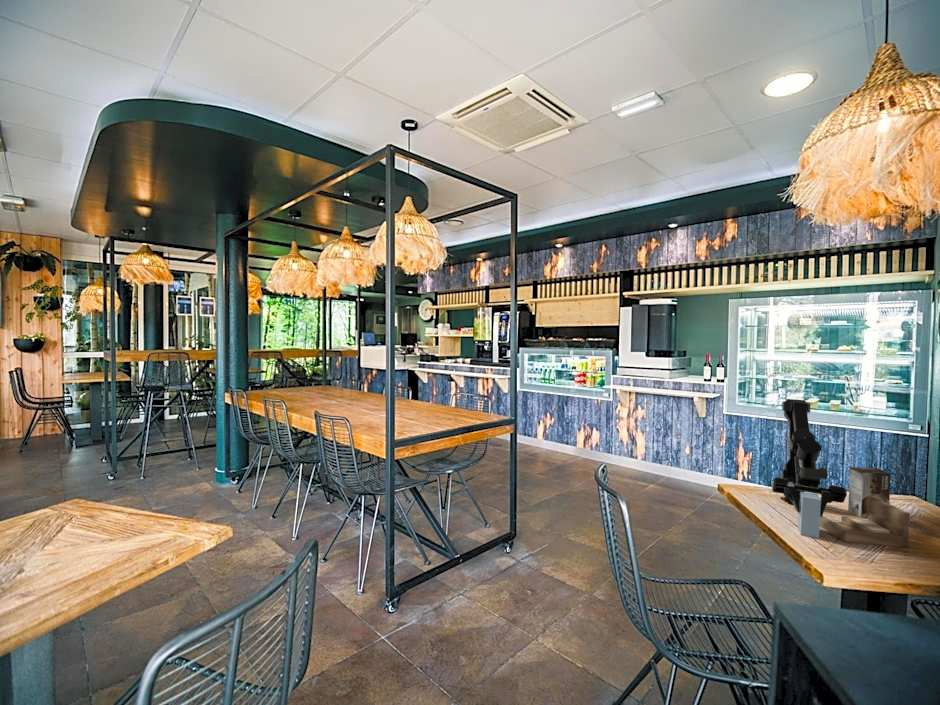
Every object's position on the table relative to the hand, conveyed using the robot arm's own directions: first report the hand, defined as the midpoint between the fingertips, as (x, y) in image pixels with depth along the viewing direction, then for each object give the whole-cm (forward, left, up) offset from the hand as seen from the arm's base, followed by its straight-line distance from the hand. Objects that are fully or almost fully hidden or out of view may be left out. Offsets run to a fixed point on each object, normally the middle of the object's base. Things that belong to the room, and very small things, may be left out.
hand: (810, 514), depth 139 cm
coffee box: (-21, +32, -7) cm, 39 cm away
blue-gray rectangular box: (-1, +1, -7) cm, 7 cm away
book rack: (-3, +17, -7) cm, 18 cm away
